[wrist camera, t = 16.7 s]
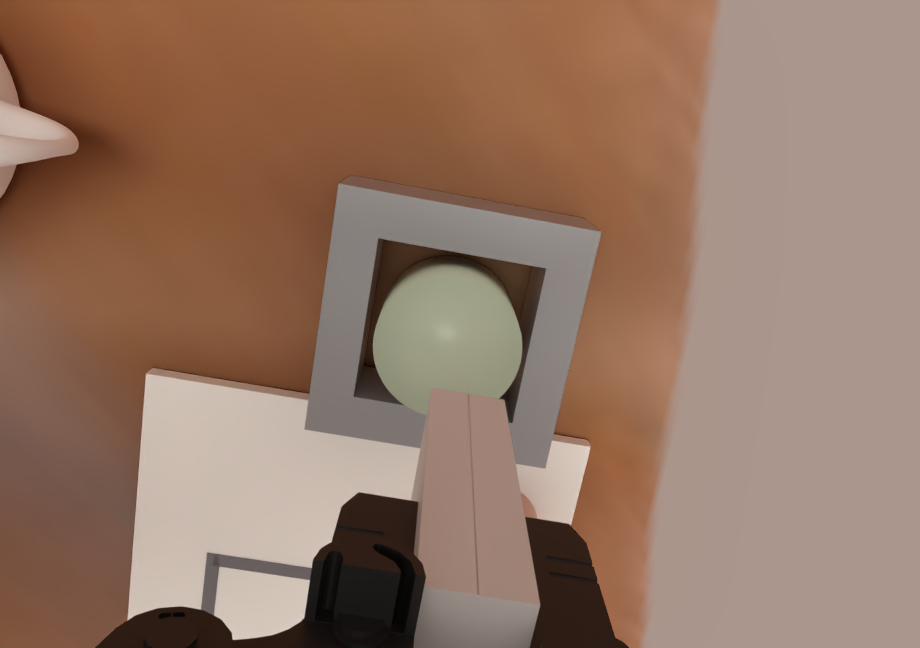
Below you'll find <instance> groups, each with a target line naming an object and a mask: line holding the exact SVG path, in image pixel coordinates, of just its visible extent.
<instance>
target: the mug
mask: <svg viewBox="0 0 920 648" xmlns="http://www.w3.org/2000/svg"><path fill="white" fill-rule="evenodd" d="M78 146H79V142H78V139H77V137H76V136H75V134H74V133H73V132H72V131H71V130H69V129H68V128H67V127H65V126H63V125H62V124H60V123H58V122H56V121H54V120H51V119H49V118H47V117H44V116H42V115H39V114H37V113H34V112H32V111H29V110H26V109H23V108H21V107H20V105H19V100H18V95H17V91H16V88H15V85H14V82H13V79H12V76H11V74H10V72H9V70H8V68H7V65H6V63H5V61H4V59H3V57H2V55H1V54H0V198H1V197H2V195H3V194H4V193H5V191H6V189H7V187H8V185H9V183H10V181H11V179H12V177H13V174H14V171H15V169H16V166H17V164H22V163H28V162H33V161H38V160H43V159H47V158H52V157H58V156H65V155H70V154H73V153H75V152H76V151H77V149H78Z"/></svg>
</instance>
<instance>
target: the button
mask: <svg viewBox="0 0 920 648" xmlns="http://www.w3.org/2000/svg"><path fill="white" fill-rule="evenodd" d="M373 356H374V362H375V366H376V369H377V372H378V374H379V376H380V378H381V380H382V382H383V384H384V385H385V387H386V388H387V389H388V391H389V392H390V393H391V394H392V395H393V396H394V397H395V398H396V399H397V400H398V401H400V402H401V403H402V404H404V405H405V406H407V407H408V408H410V409H412V410H414V411H416V412H418V413H421V414H424V415H427V410H428V405H429V399H430V394H431V389H432V388H438V389H444V390H450V391H456V392H462V393H468V394H473V395H479V396H485V397H491V398H497V399H499V398H500V397H501V396H502V395H503V394H504V393H505V392H506V391H507V389H508V388H509V387H510V385H511V384H512V382H513V381H514V379H515V377H516V374H517V372H518V370H519V366H520V363H521V357H522V336H521V331H520V327H519V324H518V321H517V318H516V315H515V312H514V309H513V306H512V303H511V299H510V297H509V295H508V292H507V291H506V289H505V287H504V285H503V284H502V283H501V281H500V280H499V279H498V278H497V277H496V276H495V275H494V274H493V273H492V272H491V271H490V270H488V269H487V268H486V267H484V266H482V265H481V264H479V263H477V262H475V261H472V260H469V259H466V258H462V257H456V256H440V257H433V258H429V259H426V260H423V261H421V262H419V263H416V264H415V265H413V266H411V267H410V268H408V269H407V270H406V271H404V272H403V273H402V274H401V275H400V276H399V277H398V278H397V279H396V281H395V282H394V283H393V285H392V286H391V288H390V290H389V291H388V293H387V296H386V298H385V301H384V304H383V307H382V310H381V313H380V316H379V319H378V322H377V325H376V328H375V332H374V337H373Z"/></svg>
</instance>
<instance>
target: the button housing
mask: <svg viewBox="0 0 920 648" xmlns="http://www.w3.org/2000/svg"><path fill="white" fill-rule="evenodd" d="M600 236H601V231H600V230H598V229H597V228H596V227H595V226H593V225H592V224H591V223H590V222H588V221H587V220H586V219H585V218H581V217H575V216H570V215H564V214H559V213H554V212H548V211H543V210H537V209H532V208H527V207H521V206H516V205H510V204H505V203H500V202H494V201H489V200H483V199H478V198H473V197H467V196H462V195H456V194H451V193H445V192H440V191H435V190H429V189H424V188H418V187H413V186H408V185H402V184H397V183H391V182H386V181H381V180H375V179H370V178H364V177H359V176H354V175H351V176H349V177H348V178H346V179H345V180H343V181H342V182H340V183H339V184H338V191H337V198H336V206H335V213H334V220H333V227H332V234H331V242H330V249H329V256H328V263H327V270H326V278H325V285H324V292H323V299H322V306H321V314H320V321H319V328H318V335H317V342H316V350H315V357H314V364H313V371H312V378H311V385H310V393H309V400H308V407H307V414H306V421H305V429H304V430H310V431H317V432H323V433H329V434H335V435H341V436H347V437H354V438H360V439H366V440H372V441H378V442H384V443H390V444H397V445H403V446H409V447H415V448H421V442H422V437H423V432H424V426H425V421H426V416H427V415H424V414H421V413H418V412H416V411H414V410H412V409H410V408H408V407H407V406H405V405H404V404H402V403H401V402H400V401H398V400H397V399H396V398H395V397H394V396H393V395H392V394H391V393H390V392H389V391H388V389H387V388H386V387H385V385H384V384H383V382H382V380H381V378H380V376H379V374H378V372H377V369H376V368H372V367H366V366H364V361H365V354H366V348H367V342H368V335H369V329H370V323H371V316H372V310H373V304H374V297H375V291H376V285H377V278H378V272H379V266H380V260H381V253H382V247H383V241H384V239H385V240H390V241H396V242H402V243H407V244H413V245H418V246H424V247H429V248H435V249H441V250H446V251H452V252H457V253H463V254H468V255H474V256H479V257H485V258H491V259H496V260H502V261H507V262H513V263H518V264H524V265H529V266H532V269H531V274H530V279H529V283H528V288H527V293H526V297H525V302H524V307H523V311H522V316H521V321H520V325H519V327H520V331H521V336H522V357H521V363H520V366H519V370H518V372H517V374H516V377H515V379H514V381H513V382H512V384H511V385H510V387H509V388H508V389H507V391H506V392H505V393H504V394H503V395H502V396H501V397H500V398H499V399H503V400H505V406H506V411H507V417H508V423H509V428H510V434H511V440H512V446H513V451H514V457H515V463H516V464H520V465H526V466H532V467H538V468H544V469H545V468H546V463H547V459H548V455H549V451H550V447H551V442H552V438H553V434H554V430H555V426H556V421H557V417H558V413H559V409H560V404H561V400H562V396H563V392H564V388H565V383H566V379H567V375H568V371H569V367H570V362H571V358H572V354H573V350H574V345H575V341H576V337H577V333H578V329H579V324H580V320H581V316H582V312H583V308H584V303H585V299H586V295H587V291H588V286H589V282H590V278H591V274H592V270H593V265H594V261H595V257H596V253H597V249H598V244H599V240H600Z"/></svg>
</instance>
